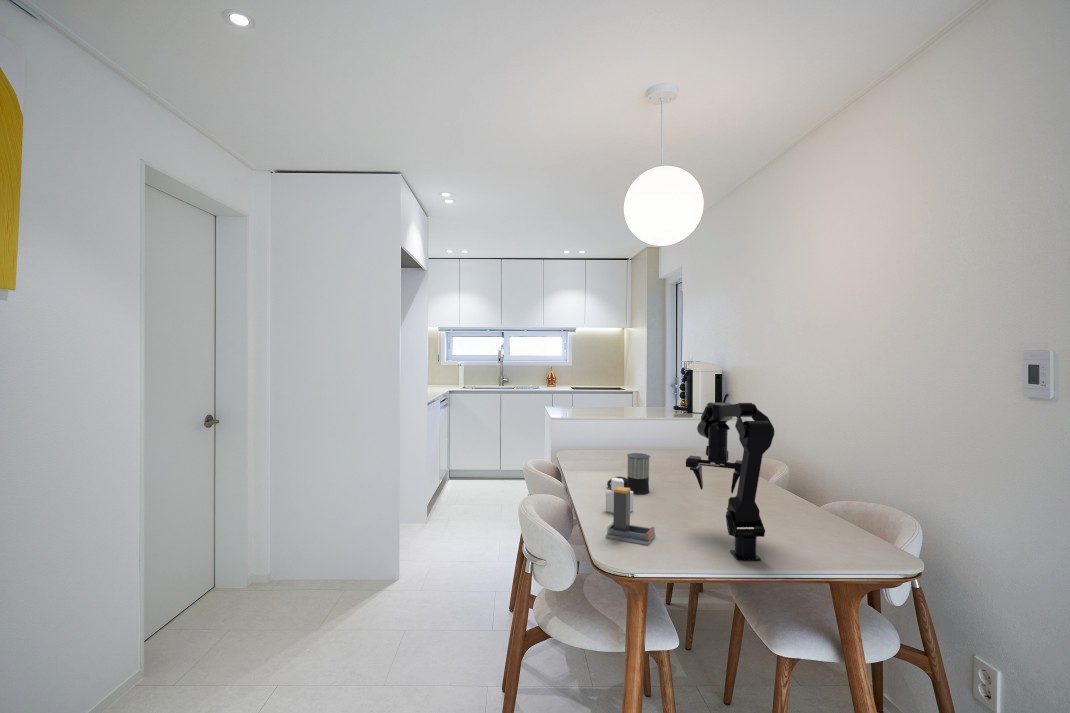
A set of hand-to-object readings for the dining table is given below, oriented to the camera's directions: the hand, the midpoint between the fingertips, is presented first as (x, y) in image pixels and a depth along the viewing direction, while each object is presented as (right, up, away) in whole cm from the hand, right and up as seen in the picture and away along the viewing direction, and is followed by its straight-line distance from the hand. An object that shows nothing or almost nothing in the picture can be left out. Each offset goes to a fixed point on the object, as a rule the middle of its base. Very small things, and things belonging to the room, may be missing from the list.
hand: (716, 491), depth 173 cm
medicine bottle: (-28, -13, +21) cm, 37 cm away
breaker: (-31, -11, -4) cm, 33 cm away
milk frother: (-20, -12, +50) cm, 55 cm away
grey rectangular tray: (-28, -13, -5) cm, 31 cm away
